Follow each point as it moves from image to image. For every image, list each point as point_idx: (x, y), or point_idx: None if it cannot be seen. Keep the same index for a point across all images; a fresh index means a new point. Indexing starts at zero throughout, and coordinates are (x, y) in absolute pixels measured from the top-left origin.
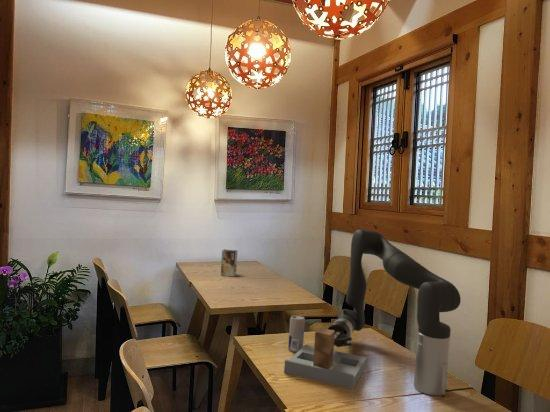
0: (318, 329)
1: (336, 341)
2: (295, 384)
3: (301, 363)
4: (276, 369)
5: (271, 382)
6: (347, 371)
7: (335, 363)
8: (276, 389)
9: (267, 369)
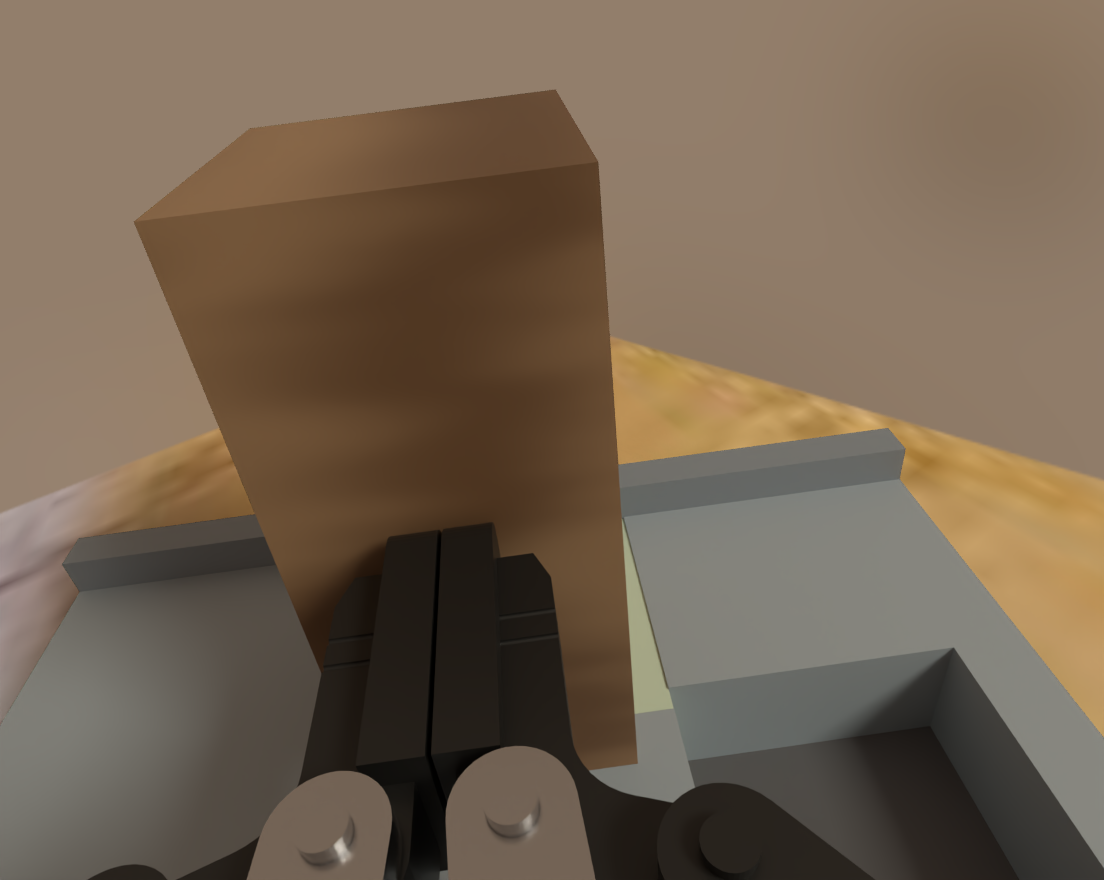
0: (570, 128)
1: (211, 877)
2: (635, 455)
3: (698, 466)
4: (991, 551)
5: (792, 395)
6: (134, 702)
7: None
8: (693, 364)
9: (1041, 505)
